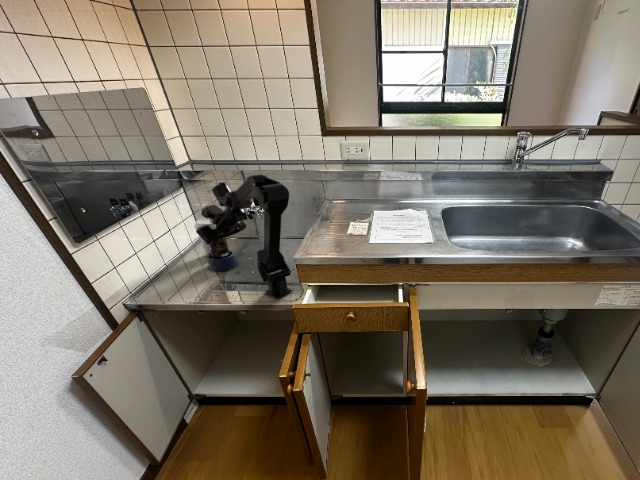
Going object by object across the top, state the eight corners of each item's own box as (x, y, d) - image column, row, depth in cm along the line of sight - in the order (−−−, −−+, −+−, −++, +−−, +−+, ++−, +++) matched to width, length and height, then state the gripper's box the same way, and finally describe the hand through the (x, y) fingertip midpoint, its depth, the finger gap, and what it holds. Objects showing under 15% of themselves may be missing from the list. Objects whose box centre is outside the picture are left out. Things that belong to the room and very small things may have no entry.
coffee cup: (222, 259, 136) (213, 225, 128) (198, 259, 135) (188, 224, 127) (231, 250, 144) (223, 217, 136) (208, 250, 143) (199, 217, 135)
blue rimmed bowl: (241, 265, 133) (238, 254, 130) (218, 273, 125) (215, 261, 123) (227, 258, 137) (224, 247, 134) (204, 266, 130) (201, 255, 127)
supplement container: (222, 252, 133) (216, 227, 127) (234, 255, 130) (228, 231, 125) (207, 258, 127) (200, 232, 122) (219, 261, 125) (213, 236, 120)
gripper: (234, 193, 123) (218, 218, 132) (192, 205, 108) (177, 231, 117) (254, 217, 125) (237, 239, 134) (216, 231, 110) (200, 255, 119)
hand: (214, 240), depth 126 cm, fingers closed on supplement container, 7 cm apart
